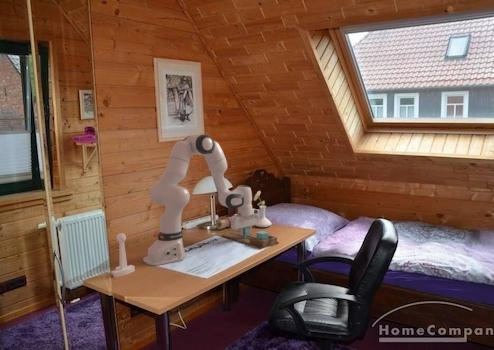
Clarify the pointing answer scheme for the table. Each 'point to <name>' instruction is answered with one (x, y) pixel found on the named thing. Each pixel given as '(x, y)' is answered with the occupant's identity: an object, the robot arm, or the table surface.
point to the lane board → (252, 240)
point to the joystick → (122, 259)
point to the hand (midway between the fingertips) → (245, 234)
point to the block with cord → (260, 235)
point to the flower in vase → (262, 213)
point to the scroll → (224, 223)
